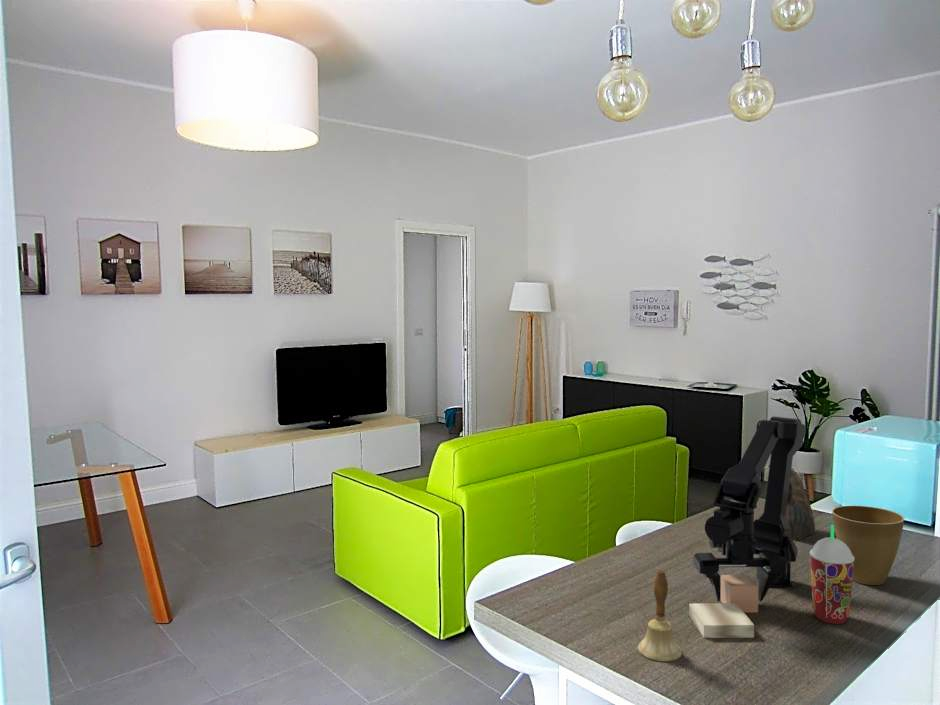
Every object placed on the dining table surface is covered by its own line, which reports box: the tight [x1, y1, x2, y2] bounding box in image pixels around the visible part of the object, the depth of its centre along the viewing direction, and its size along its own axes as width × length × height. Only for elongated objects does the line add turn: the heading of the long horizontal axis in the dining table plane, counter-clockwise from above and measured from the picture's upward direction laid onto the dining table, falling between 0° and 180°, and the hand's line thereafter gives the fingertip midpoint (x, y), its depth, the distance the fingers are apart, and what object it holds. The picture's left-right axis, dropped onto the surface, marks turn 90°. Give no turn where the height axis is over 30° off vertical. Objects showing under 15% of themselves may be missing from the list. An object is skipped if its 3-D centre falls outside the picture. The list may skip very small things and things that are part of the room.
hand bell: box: [637, 569, 683, 663], centre depth 133 cm, size 8×8×16 cm
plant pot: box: [831, 505, 905, 586], centre depth 164 cm, size 15×15×16 cm
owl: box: [767, 463, 816, 541], centre depth 198 cm, size 13×13×20 cm
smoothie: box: [809, 524, 855, 625], centre depth 144 cm, size 8×8×20 cm
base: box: [688, 602, 755, 639], centre depth 143 cm, size 10×10×3 cm
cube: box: [720, 574, 759, 614], centre depth 151 cm, size 6×6×6 cm
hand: (739, 600), depth 151 cm, fingers open, 9 cm apart
